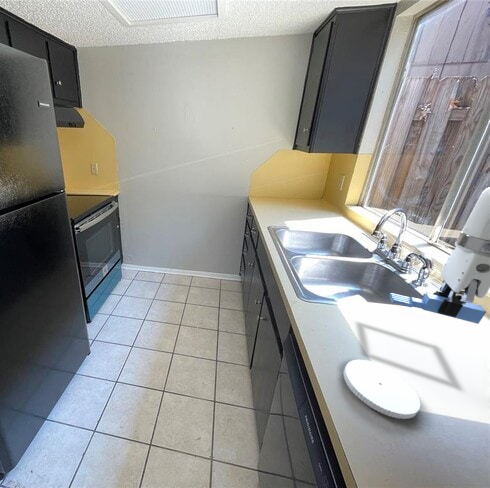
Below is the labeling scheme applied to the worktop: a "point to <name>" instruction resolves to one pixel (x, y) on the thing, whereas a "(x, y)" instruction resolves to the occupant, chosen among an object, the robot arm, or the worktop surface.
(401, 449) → the worktop surface
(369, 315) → the worktop surface
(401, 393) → the plastic lid
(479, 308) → the blue brush
